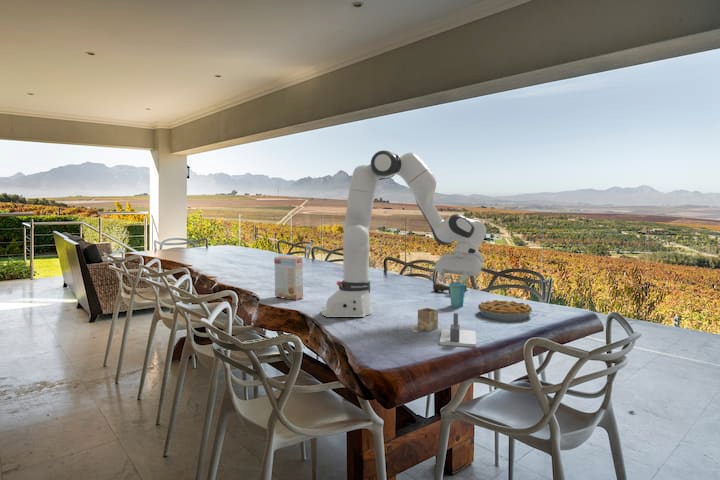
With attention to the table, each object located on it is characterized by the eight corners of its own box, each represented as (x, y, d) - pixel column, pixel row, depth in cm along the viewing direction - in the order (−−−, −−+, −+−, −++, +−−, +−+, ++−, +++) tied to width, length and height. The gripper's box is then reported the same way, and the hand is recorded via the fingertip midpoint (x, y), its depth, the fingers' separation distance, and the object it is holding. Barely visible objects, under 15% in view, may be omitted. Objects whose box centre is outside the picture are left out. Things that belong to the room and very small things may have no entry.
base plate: (442, 331, 170) (442, 328, 169) (475, 333, 167) (475, 330, 167) (439, 344, 154) (439, 341, 154) (476, 347, 151) (476, 344, 151)
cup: (451, 310, 203) (452, 276, 201) (439, 307, 209) (439, 274, 207) (472, 305, 211) (472, 273, 210) (459, 302, 217) (459, 271, 216)
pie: (494, 307, 209) (494, 296, 209) (541, 315, 193) (541, 303, 193) (468, 315, 194) (468, 304, 193) (516, 325, 178) (517, 312, 178)
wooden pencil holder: (426, 325, 178) (426, 307, 177) (437, 328, 174) (437, 310, 173) (408, 330, 171) (408, 312, 171) (419, 333, 167) (419, 314, 167)
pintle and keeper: (451, 334, 166) (451, 312, 165) (459, 335, 165) (460, 313, 164) (450, 344, 154) (450, 321, 153) (459, 345, 153) (459, 321, 153)
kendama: (439, 290, 250) (473, 294, 236) (430, 293, 243) (463, 297, 229) (439, 279, 249) (472, 283, 236) (429, 282, 242) (463, 286, 229)
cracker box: (303, 298, 228) (303, 257, 227) (295, 300, 223) (295, 258, 222) (282, 295, 236) (281, 255, 234) (274, 297, 231) (273, 256, 229)
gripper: (440, 248, 194) (426, 274, 188) (481, 250, 178) (467, 279, 173) (447, 257, 197) (433, 283, 192) (488, 260, 181) (474, 288, 176)
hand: (449, 281), depth 182 cm, fingers open, 8 cm apart
